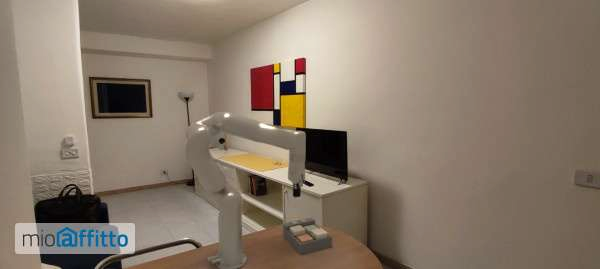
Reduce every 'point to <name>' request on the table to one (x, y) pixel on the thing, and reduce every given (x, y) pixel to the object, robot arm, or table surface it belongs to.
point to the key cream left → (297, 230)
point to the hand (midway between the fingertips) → (296, 196)
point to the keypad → (307, 246)
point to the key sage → (309, 228)
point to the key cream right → (319, 233)
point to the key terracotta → (304, 238)
